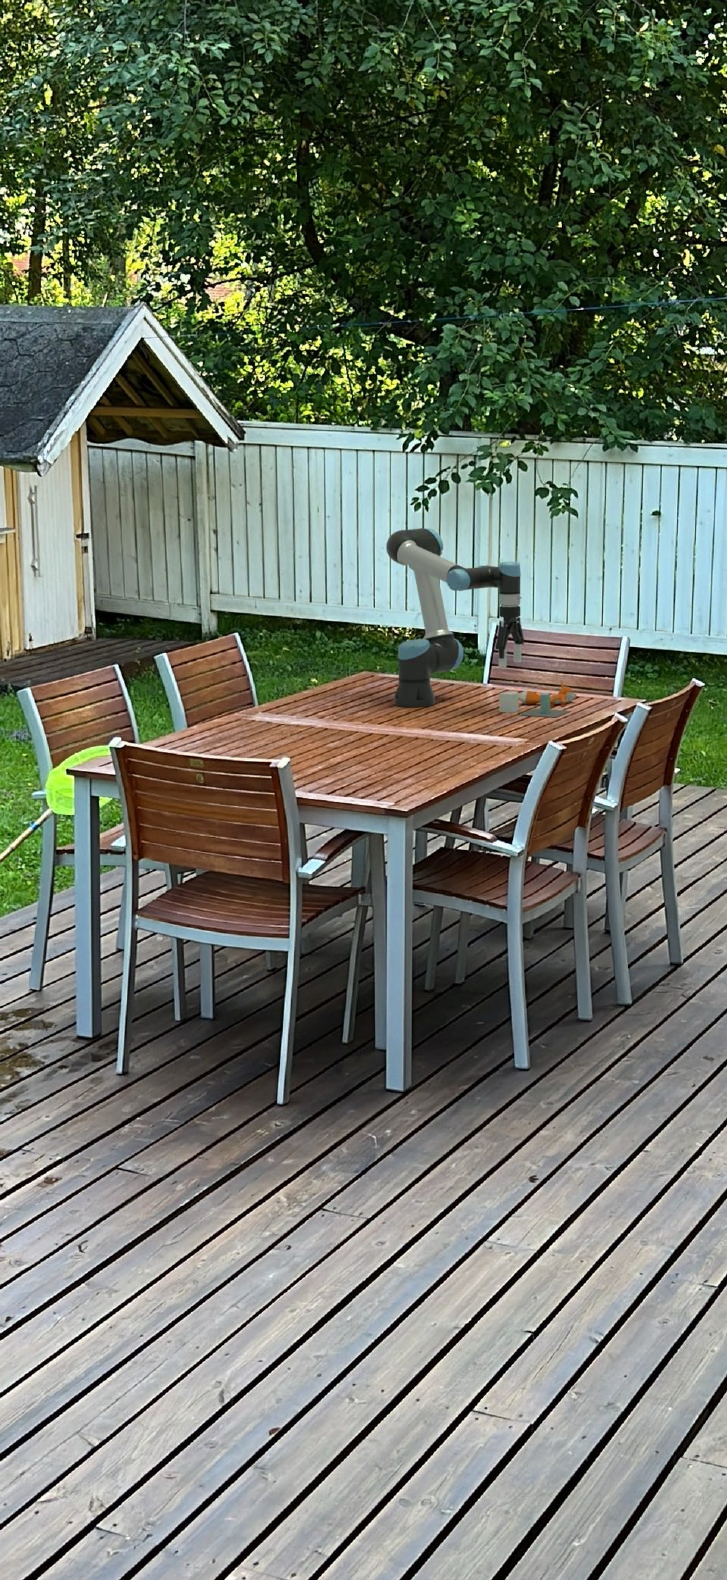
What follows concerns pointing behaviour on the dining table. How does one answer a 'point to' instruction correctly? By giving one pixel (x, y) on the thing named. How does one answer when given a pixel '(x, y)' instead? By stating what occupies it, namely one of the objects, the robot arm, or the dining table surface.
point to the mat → (552, 713)
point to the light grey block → (509, 702)
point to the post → (544, 703)
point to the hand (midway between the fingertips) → (510, 665)
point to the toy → (562, 697)
